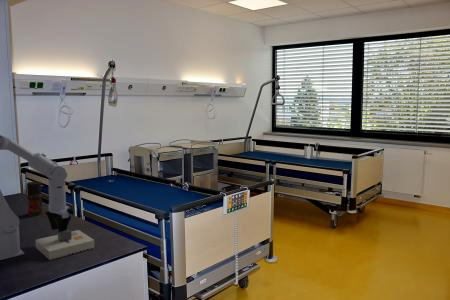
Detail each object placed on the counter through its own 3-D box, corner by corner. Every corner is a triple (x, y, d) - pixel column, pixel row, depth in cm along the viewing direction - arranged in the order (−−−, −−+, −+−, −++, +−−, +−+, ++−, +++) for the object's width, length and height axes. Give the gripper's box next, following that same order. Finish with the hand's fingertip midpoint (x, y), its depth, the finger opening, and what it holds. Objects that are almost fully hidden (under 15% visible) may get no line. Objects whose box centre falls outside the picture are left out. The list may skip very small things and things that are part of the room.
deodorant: (25, 214, 175) (23, 183, 173) (37, 211, 181) (35, 180, 179) (33, 216, 173) (32, 184, 171) (45, 213, 178) (43, 182, 176)
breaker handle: (60, 241, 136) (60, 233, 135) (58, 239, 138) (57, 231, 137) (71, 238, 139) (71, 231, 138) (69, 237, 140) (68, 229, 140)
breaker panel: (49, 259, 128) (49, 251, 127) (35, 247, 138) (35, 239, 137) (94, 247, 139) (94, 239, 138) (78, 237, 149) (78, 229, 148)
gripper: (76, 199, 138) (77, 234, 140) (60, 191, 148) (62, 224, 150) (56, 202, 133) (57, 239, 135) (41, 194, 143) (43, 228, 145)
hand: (58, 231), depth 142 cm, fingers open, 7 cm apart
